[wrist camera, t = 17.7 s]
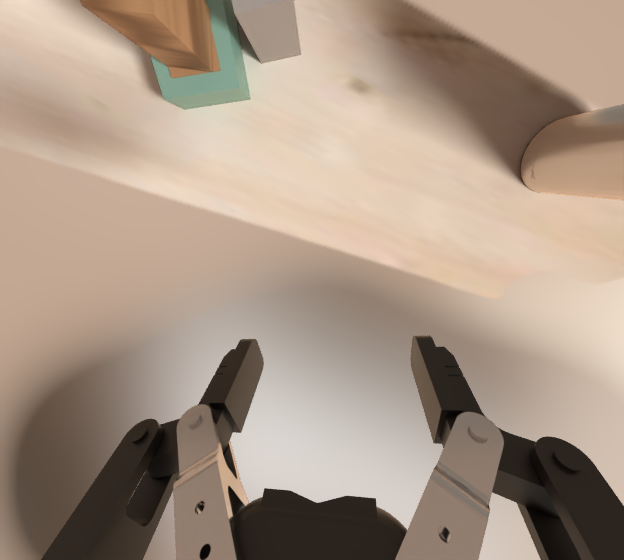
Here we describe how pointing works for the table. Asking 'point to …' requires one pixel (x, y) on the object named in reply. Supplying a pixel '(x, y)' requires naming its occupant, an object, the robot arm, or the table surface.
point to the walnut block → (163, 28)
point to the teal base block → (226, 67)
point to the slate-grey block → (269, 27)
